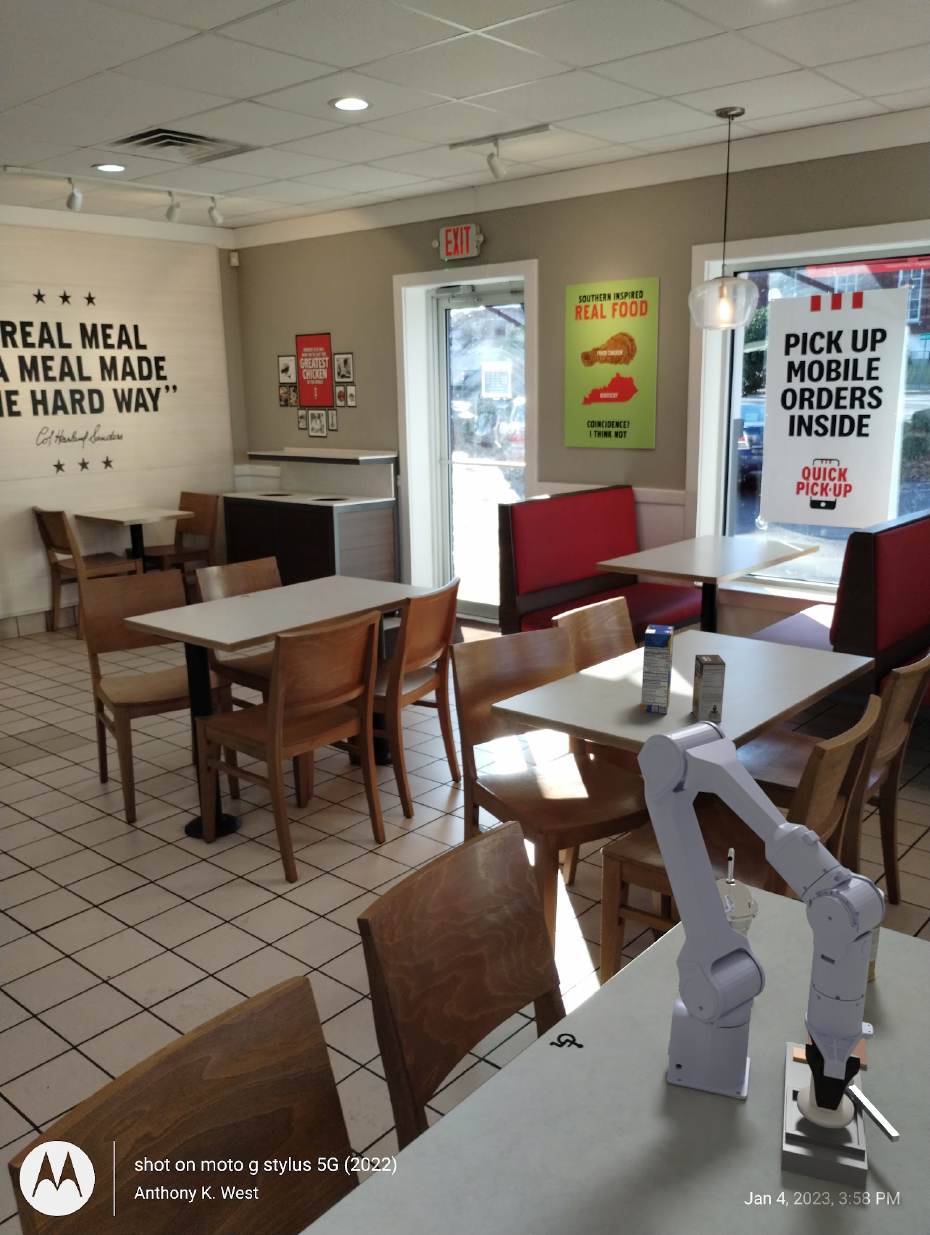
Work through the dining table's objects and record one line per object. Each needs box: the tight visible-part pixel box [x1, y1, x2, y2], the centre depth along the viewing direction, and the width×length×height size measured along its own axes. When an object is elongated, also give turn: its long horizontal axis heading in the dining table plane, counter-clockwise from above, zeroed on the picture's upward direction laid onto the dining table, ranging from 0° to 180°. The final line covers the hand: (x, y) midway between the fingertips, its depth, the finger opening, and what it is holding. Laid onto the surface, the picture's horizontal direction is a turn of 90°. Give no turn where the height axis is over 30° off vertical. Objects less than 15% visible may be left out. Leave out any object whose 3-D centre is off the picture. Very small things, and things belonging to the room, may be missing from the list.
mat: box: [807, 1032, 868, 1069], centre depth 130 cm, size 7×7×1 cm
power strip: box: [780, 1041, 869, 1191], centre depth 117 cm, size 9×20×3 cm, turn 161°
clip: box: [844, 1078, 900, 1143], centre depth 115 cm, size 1×14×2 cm, turn 12°
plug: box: [797, 1071, 854, 1128], centre depth 112 cm, size 6×6×6 cm
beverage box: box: [640, 624, 675, 716], centre depth 272 cm, size 7×11×22 cm, turn 165°
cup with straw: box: [716, 847, 760, 938], centre depth 146 cm, size 8×9×20 cm
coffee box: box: [691, 654, 726, 722], centre depth 266 cm, size 9×6×16 cm
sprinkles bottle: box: [867, 887, 885, 982], centre depth 146 cm, size 5×5×13 cm
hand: (826, 1094), depth 112 cm, fingers closed on plug, 4 cm apart
